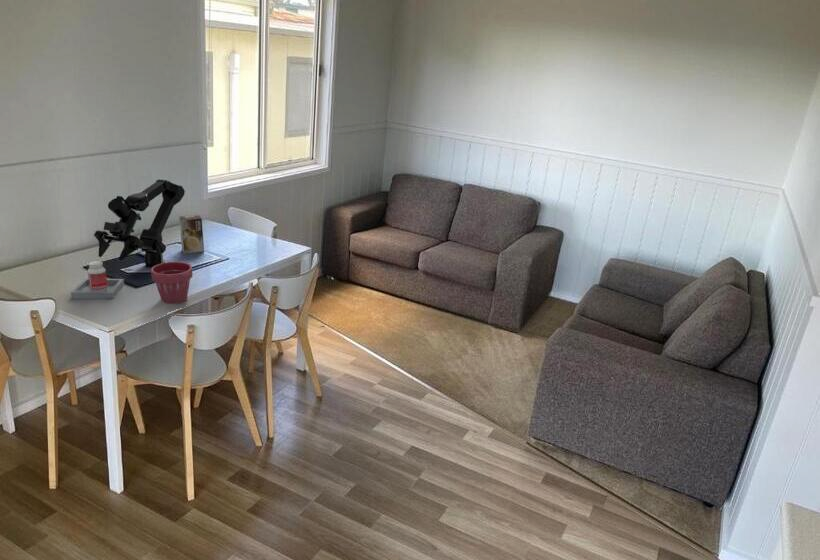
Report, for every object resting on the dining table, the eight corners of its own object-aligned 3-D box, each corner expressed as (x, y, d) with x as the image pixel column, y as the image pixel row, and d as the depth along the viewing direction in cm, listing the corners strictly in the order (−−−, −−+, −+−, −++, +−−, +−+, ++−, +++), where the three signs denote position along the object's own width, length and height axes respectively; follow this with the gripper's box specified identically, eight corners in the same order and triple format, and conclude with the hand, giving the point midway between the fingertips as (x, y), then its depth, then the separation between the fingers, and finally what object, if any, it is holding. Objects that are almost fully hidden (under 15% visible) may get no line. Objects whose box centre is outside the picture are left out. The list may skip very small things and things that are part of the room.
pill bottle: (111, 289, 237) (108, 262, 233) (96, 294, 232) (93, 266, 228) (101, 285, 240) (97, 259, 236) (86, 290, 235) (82, 263, 231)
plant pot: (145, 302, 229) (142, 270, 225) (170, 289, 242) (168, 259, 237) (177, 309, 225) (175, 276, 221) (201, 296, 238) (199, 265, 233)
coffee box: (201, 247, 291) (199, 214, 286) (204, 252, 286) (202, 218, 280) (181, 249, 287) (179, 216, 282) (183, 253, 282) (181, 219, 276)
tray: (124, 284, 244) (123, 279, 243) (112, 299, 230) (112, 292, 229) (85, 284, 242) (84, 278, 241) (71, 298, 228) (70, 292, 227)
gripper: (94, 210, 240) (76, 245, 234) (135, 216, 236) (118, 252, 230) (110, 224, 250) (93, 258, 244) (150, 231, 246) (134, 265, 239)
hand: (109, 258), depth 239 cm, fingers open, 9 cm apart
